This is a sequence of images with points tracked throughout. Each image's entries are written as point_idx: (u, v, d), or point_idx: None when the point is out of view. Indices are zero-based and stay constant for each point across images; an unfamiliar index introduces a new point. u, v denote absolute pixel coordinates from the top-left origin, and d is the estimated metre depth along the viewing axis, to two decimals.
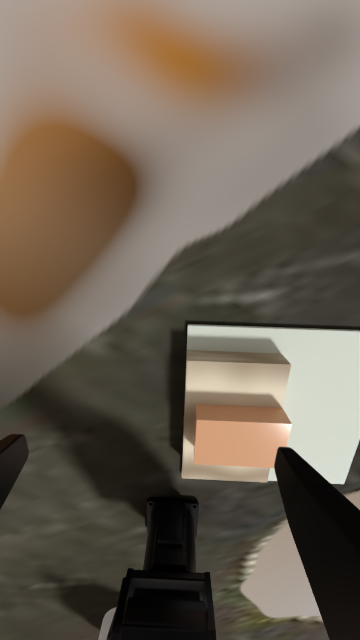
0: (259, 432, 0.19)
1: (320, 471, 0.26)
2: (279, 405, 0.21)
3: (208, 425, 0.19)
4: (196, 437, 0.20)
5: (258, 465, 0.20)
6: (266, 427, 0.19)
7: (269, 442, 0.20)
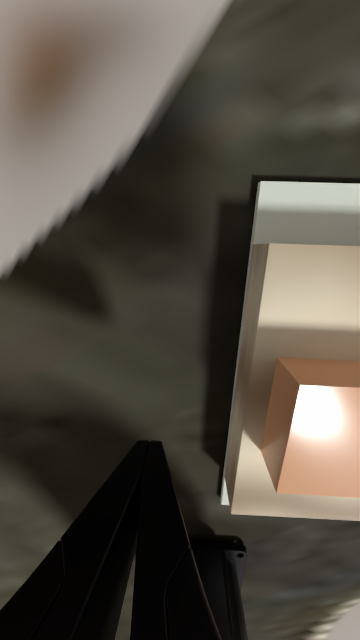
0: None
1: None
2: None
3: (326, 398, 0.08)
4: (291, 430, 0.08)
5: None
6: None
7: None
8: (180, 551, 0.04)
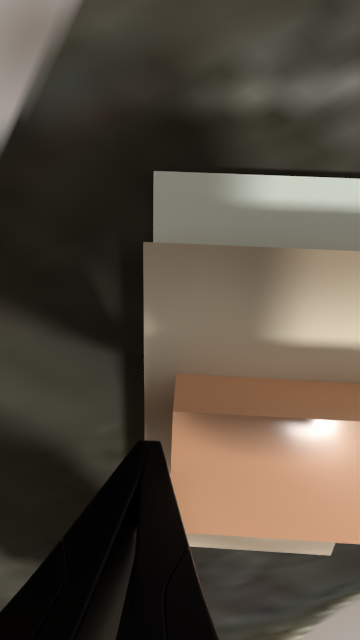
0: (358, 449, 0.06)
1: None
2: None
3: (207, 427, 0.06)
4: (173, 463, 0.07)
5: (341, 538, 0.08)
6: None
7: None
8: (179, 551, 0.04)
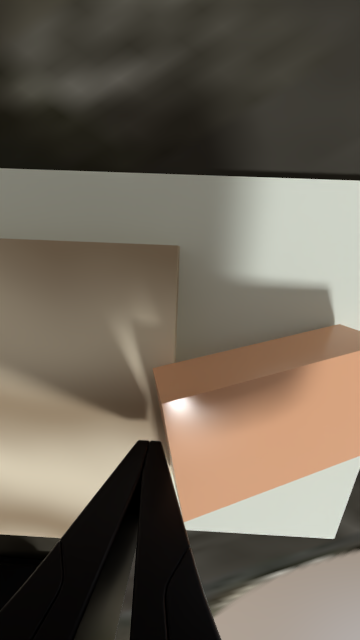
0: (325, 385, 0.07)
1: (287, 515, 0.13)
2: None
3: (198, 408, 0.06)
4: (173, 454, 0.07)
5: (326, 464, 0.09)
6: (340, 367, 0.07)
7: (346, 402, 0.08)
8: (180, 551, 0.04)
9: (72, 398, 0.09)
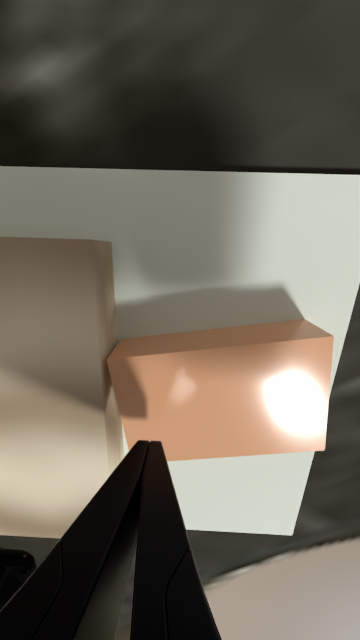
0: (257, 369, 0.08)
1: (243, 511, 0.13)
2: (91, 363, 0.08)
3: (135, 368, 0.08)
4: (119, 402, 0.09)
5: (270, 449, 0.09)
6: (272, 353, 0.08)
7: (285, 390, 0.08)
8: (180, 551, 0.04)
9: (3, 395, 0.09)
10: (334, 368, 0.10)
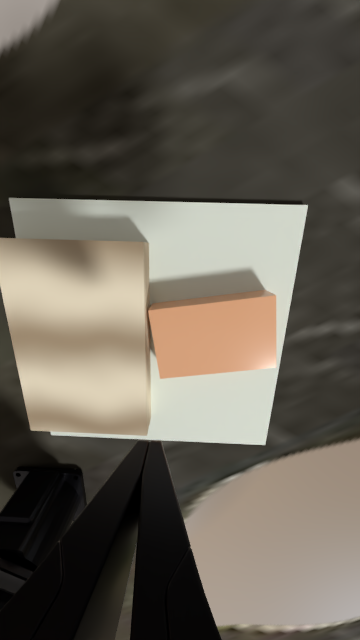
0: (234, 315, 0.14)
1: (231, 426, 0.19)
2: (139, 312, 0.14)
3: (164, 315, 0.14)
4: (154, 338, 0.15)
5: (244, 367, 0.15)
6: (242, 306, 0.14)
7: (251, 329, 0.14)
8: (180, 551, 0.04)
9: (86, 333, 0.15)
10: (285, 321, 0.16)
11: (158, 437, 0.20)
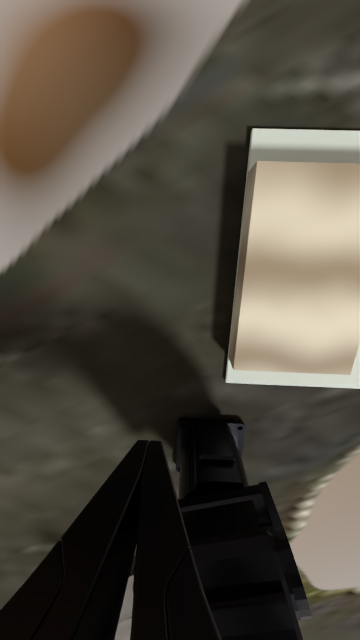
0: None
1: None
2: None
3: None
4: None
5: None
6: None
7: None
8: (180, 551, 0.04)
9: (322, 264, 0.15)
10: None
11: (334, 384, 0.20)
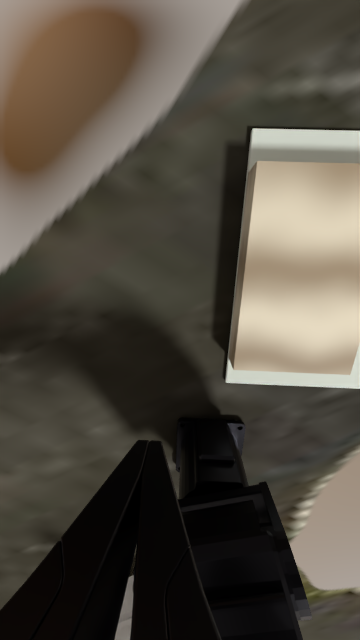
0: None
1: None
2: None
3: None
4: None
5: None
6: None
7: None
8: (180, 551, 0.04)
9: (322, 264, 0.15)
10: None
11: (334, 384, 0.20)
